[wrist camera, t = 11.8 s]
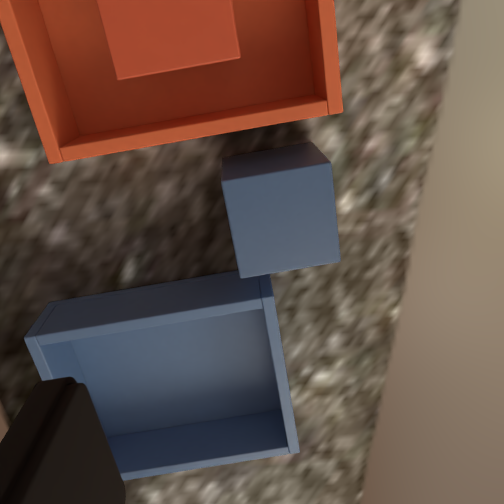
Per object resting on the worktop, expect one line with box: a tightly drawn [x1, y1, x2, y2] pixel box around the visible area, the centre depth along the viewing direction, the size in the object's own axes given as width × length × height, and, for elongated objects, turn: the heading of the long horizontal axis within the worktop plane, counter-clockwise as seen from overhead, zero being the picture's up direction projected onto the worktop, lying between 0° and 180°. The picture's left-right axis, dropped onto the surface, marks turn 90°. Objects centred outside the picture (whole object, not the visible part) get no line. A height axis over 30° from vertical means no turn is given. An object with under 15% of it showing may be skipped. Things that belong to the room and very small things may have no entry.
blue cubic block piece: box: [221, 142, 341, 278], centre depth 21 cm, size 4×4×4 cm
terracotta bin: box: [0, 0, 343, 164], centre depth 18 cm, size 12×10×4 cm
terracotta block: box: [96, 0, 241, 80], centre depth 17 cm, size 4×4×4 cm
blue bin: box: [24, 270, 300, 480], centre depth 26 cm, size 12×10×4 cm
